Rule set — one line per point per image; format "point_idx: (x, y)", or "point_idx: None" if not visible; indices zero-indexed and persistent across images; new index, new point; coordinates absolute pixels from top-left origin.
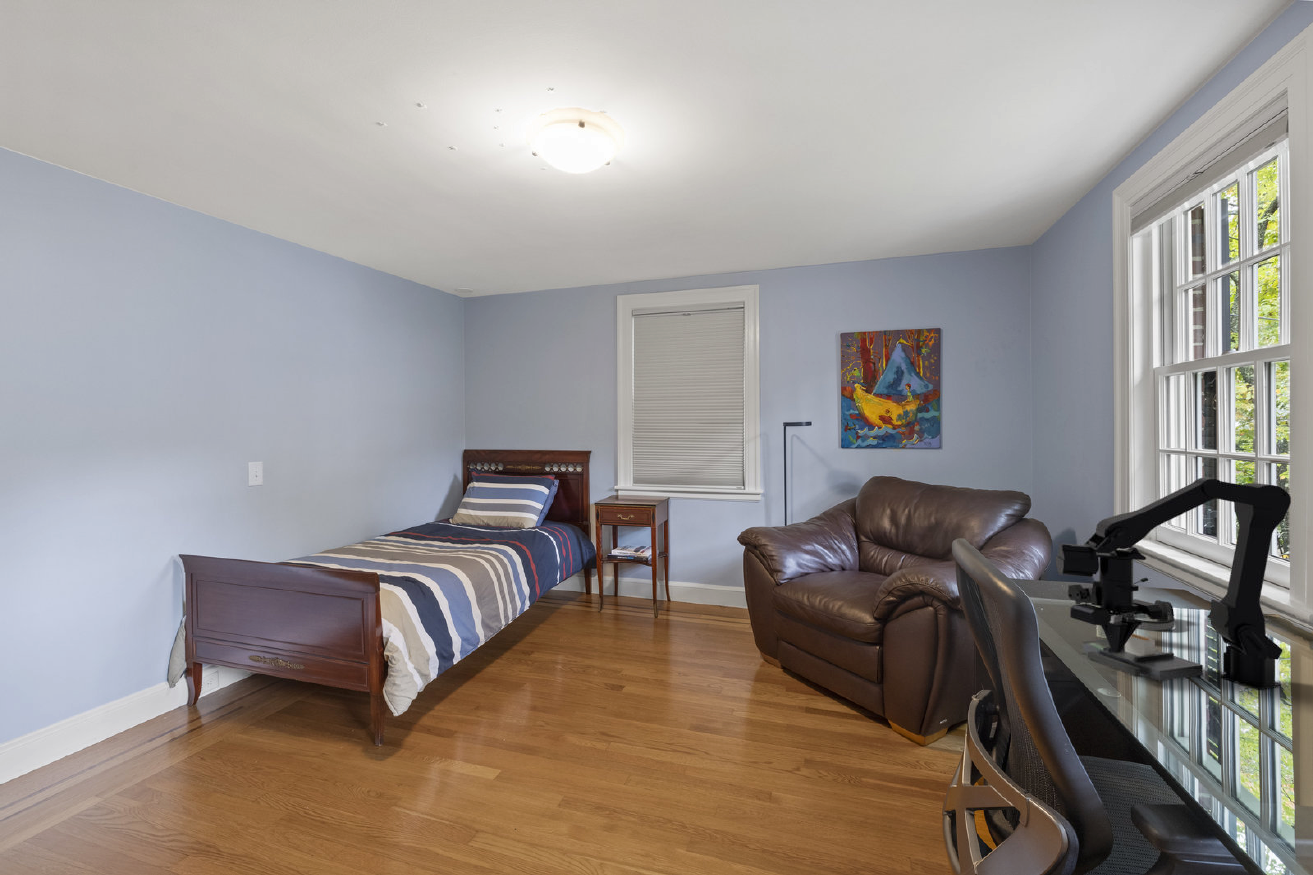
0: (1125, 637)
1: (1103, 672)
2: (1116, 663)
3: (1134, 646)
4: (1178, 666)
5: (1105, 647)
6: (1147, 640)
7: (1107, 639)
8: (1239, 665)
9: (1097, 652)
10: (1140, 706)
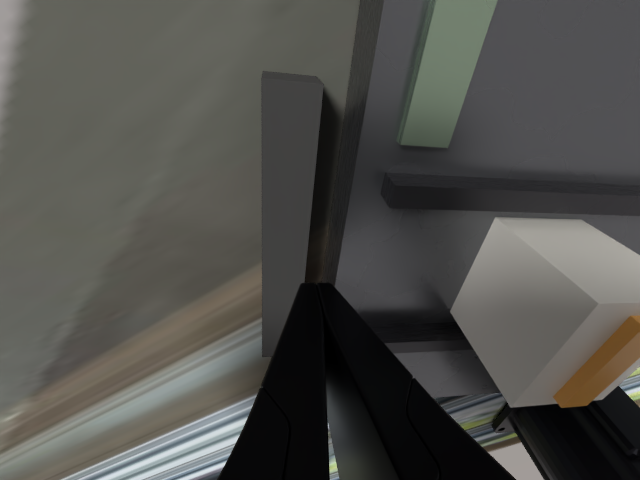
0: (341, 474)
1: (142, 272)
2: (262, 283)
3: (501, 308)
4: (445, 389)
5: (442, 137)
6: (552, 400)
7: (276, 351)
8: (553, 460)
9: (356, 107)
10: (20, 461)
